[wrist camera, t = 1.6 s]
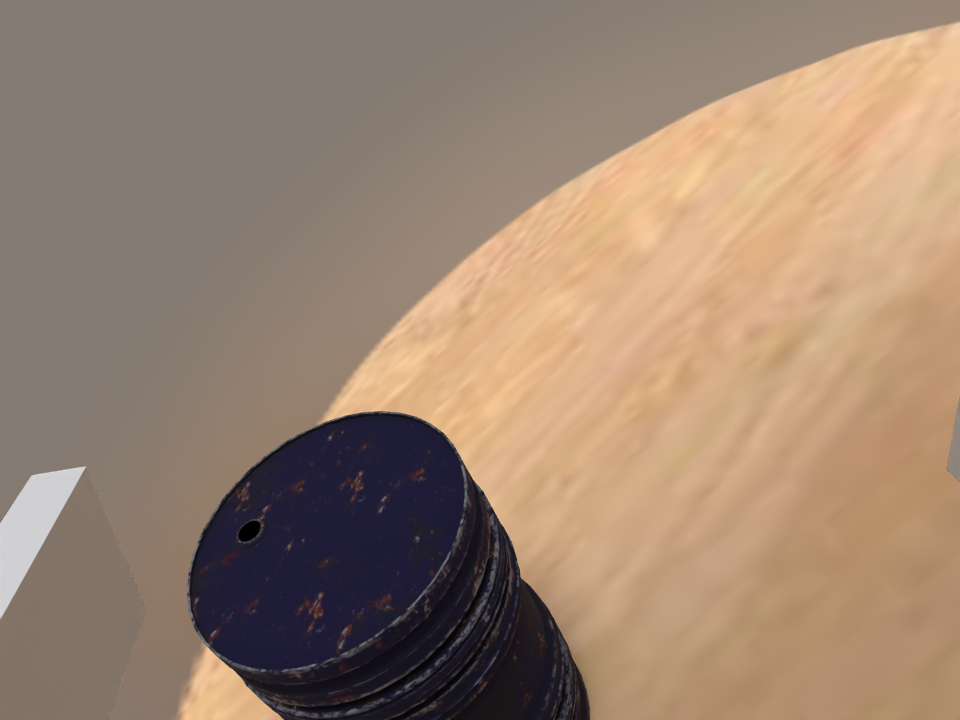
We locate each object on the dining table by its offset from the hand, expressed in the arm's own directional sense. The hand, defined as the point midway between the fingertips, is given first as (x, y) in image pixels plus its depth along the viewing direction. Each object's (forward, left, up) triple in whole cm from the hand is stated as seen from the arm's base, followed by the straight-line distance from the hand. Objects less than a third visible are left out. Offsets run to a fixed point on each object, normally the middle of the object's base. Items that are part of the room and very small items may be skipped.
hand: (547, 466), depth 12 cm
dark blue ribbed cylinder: (-3, -12, -24) cm, 27 cm away
